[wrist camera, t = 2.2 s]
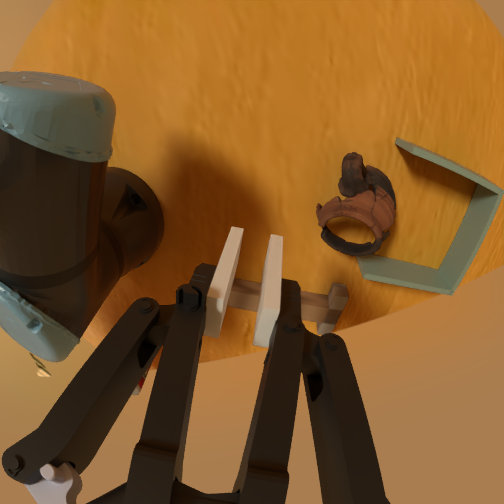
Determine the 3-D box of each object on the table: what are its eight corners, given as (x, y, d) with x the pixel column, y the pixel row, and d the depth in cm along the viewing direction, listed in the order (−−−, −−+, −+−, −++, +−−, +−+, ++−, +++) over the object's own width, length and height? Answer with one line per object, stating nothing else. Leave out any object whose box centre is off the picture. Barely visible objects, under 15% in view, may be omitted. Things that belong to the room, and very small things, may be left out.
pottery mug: (401, 213, 33) (394, 264, 29) (336, 212, 39) (320, 258, 35) (388, 132, 25) (382, 178, 21) (309, 139, 31) (285, 182, 27)
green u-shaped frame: (355, 255, 37) (363, 278, 32) (396, 137, 27) (414, 146, 23) (439, 274, 37) (452, 295, 32) (484, 177, 27) (504, 190, 23)
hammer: (229, 304, 44) (226, 318, 41) (236, 263, 40) (232, 276, 37) (328, 321, 44) (329, 335, 41) (345, 284, 39) (348, 297, 37)
